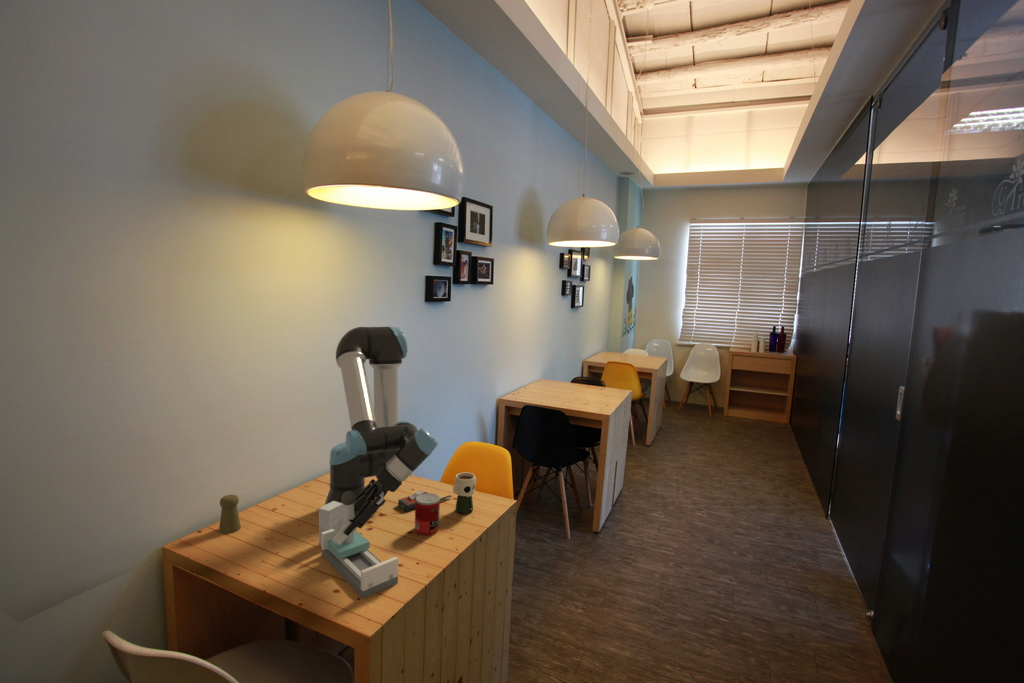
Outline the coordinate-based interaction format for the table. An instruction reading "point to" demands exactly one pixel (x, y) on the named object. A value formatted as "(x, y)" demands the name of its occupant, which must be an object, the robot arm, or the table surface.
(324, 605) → the table surface
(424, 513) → the canned food
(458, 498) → the character mug
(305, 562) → the table surface
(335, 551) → the carriage
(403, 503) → the walkie-talkie
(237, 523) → the olive pawn figure
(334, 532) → the rail track
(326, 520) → the skincare box
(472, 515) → the table surface
